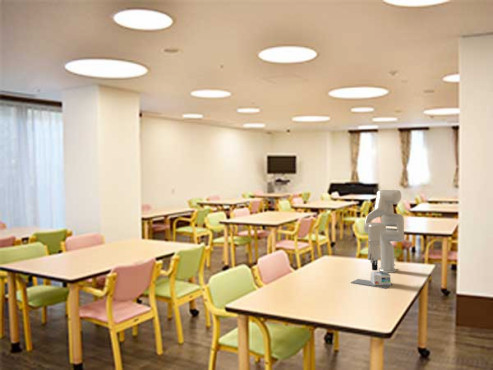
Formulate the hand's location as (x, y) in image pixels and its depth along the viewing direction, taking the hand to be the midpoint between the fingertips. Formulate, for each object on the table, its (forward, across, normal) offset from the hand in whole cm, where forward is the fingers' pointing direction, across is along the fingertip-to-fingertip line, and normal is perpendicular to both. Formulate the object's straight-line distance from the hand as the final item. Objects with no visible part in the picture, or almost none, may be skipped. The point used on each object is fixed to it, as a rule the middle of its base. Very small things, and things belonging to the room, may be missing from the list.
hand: (374, 270), depth 279 cm
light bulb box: (+4, -1, +2) cm, 5 cm away
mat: (+8, +6, 0) cm, 10 cm away
